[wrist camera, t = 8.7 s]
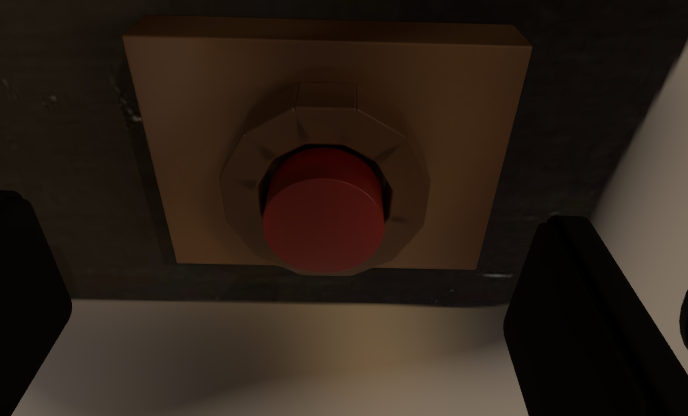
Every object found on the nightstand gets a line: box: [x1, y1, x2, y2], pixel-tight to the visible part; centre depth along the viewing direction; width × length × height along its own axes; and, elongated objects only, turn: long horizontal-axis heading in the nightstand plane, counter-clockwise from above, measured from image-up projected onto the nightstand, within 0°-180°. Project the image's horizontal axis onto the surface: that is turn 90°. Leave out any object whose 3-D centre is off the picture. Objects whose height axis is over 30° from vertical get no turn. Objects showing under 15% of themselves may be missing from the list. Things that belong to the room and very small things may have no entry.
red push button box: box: [122, 15, 532, 276], centre depth 17 cm, size 12×9×4 cm
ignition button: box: [262, 147, 385, 273], centre depth 15 cm, size 4×4×2 cm
